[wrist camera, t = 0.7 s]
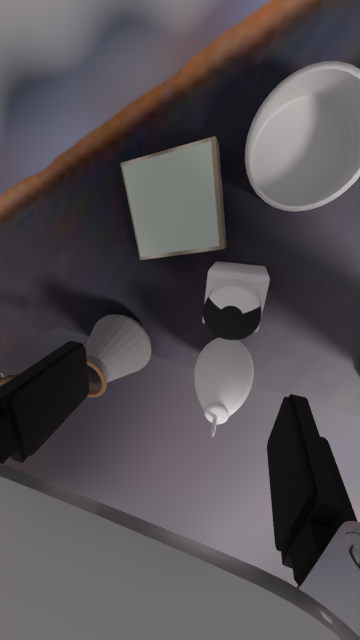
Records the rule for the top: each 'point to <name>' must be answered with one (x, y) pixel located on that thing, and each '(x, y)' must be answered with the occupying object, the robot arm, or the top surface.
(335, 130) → the saucepan
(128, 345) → the coffee pot
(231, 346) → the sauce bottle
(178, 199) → the plinth
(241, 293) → the medicine bottle
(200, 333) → the top surface
